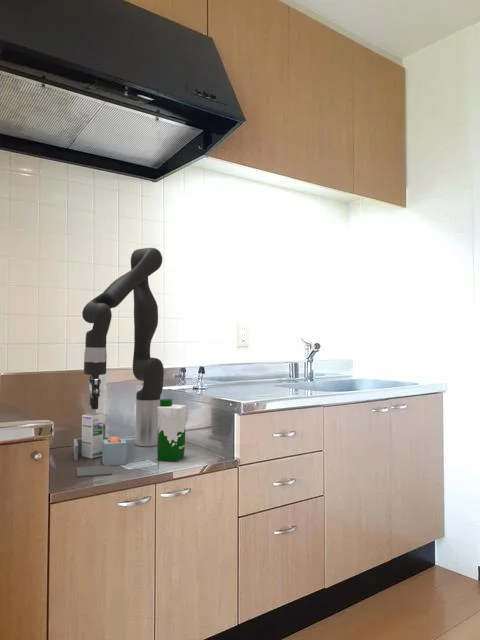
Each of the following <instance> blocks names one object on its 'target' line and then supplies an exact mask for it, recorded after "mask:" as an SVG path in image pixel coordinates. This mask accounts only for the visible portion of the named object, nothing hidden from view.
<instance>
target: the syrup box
mask: <svg viewBox="0 0 480 640" xmlns="http://www.w3.org/2000/svg"><path fill="white" fill-rule="evenodd" d="M105 437H106V414H105V413H102V412H95V413H87V414H86V413H85V414H82V415H81V439H82V453H81V456H82V457H83V458H87V459H92V460H93V459H95V458H102V450H103V440H105Z"/></svg>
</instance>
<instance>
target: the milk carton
mask: <svg viewBox="0 0 480 640" xmlns="http://www.w3.org/2000/svg"><path fill="white" fill-rule="evenodd" d="M186 409H187V407H186V405H185V404H178V403H177V404H173V399H169V398H160V406H158V407H157V412H158V443H157V445H156V446H157V450H156V451H157V454H156V455H157V461H161V462H175V463H177V462H179V461H180V460H182V459H183V458H184V457H185V448H186V413H187V412H186V411H187V410H186Z"/></svg>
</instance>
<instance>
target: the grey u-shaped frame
mask: <svg viewBox="0 0 480 640" xmlns="http://www.w3.org/2000/svg"><path fill="white" fill-rule="evenodd" d="M110 437H111V436H105V439H110ZM79 454H82V438H73V460H74V461H76V462H77V461H79V459H78V457H79Z"/></svg>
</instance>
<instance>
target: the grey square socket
mask: <svg viewBox="0 0 480 640" xmlns="http://www.w3.org/2000/svg"><path fill="white" fill-rule="evenodd" d="M127 444H128V443H127V441H126V439H125V438H119V442H113V443H110V439H105V440H103V450H102V456H101V458H102V460H101V461H102V464H103V466H104V465H109V466H120V465H123V466H124V465H127V447H128V446H127Z"/></svg>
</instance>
